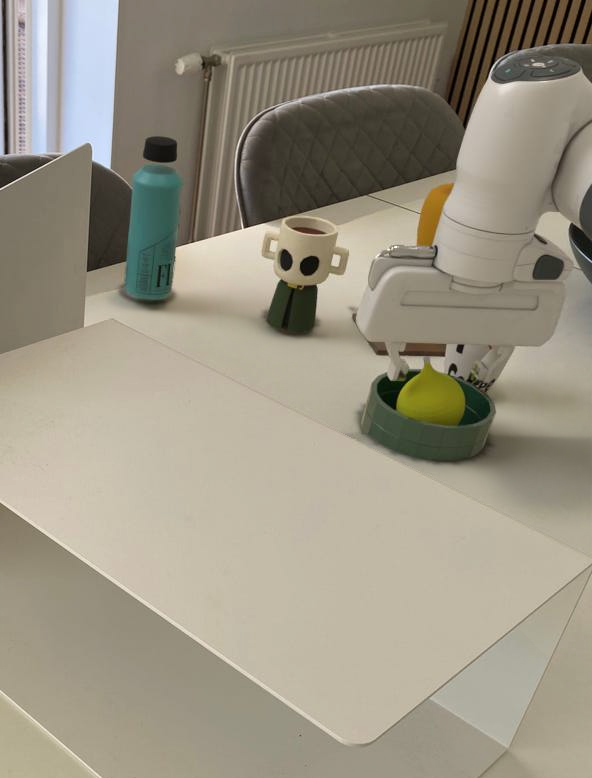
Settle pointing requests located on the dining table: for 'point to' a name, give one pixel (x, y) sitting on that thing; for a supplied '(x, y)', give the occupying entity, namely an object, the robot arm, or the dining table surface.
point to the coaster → (410, 348)
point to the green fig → (432, 398)
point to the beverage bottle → (154, 222)
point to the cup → (470, 362)
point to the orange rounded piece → (432, 214)
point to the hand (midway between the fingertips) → (436, 379)
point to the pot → (427, 436)
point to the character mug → (301, 269)
